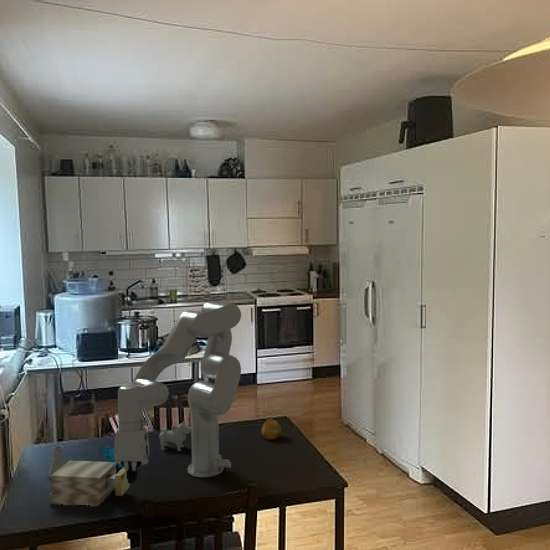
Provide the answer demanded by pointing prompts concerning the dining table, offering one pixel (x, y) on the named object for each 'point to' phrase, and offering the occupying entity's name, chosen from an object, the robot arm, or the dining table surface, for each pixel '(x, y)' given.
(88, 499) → the block
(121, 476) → the shaft
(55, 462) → the flask
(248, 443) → the dining table surface
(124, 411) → the robot arm
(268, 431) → the fruit
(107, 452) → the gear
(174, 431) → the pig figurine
